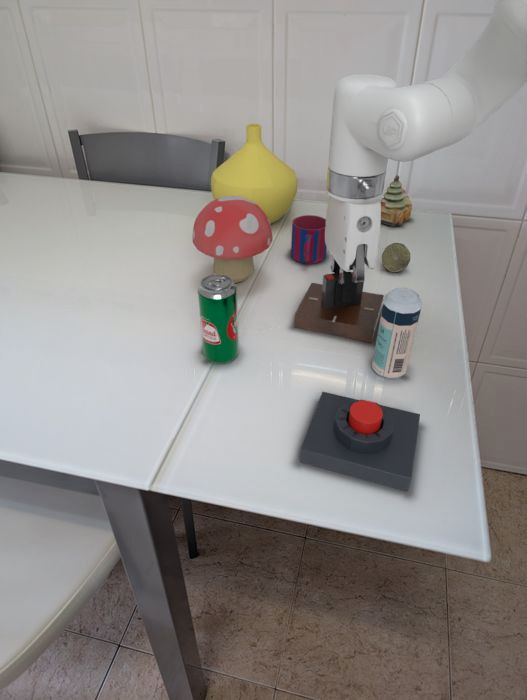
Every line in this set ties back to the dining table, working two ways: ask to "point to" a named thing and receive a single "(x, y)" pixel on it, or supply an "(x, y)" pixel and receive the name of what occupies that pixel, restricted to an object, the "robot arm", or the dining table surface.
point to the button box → (362, 443)
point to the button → (365, 417)
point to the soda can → (218, 318)
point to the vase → (256, 177)
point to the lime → (396, 257)
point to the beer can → (396, 332)
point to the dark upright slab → (329, 291)
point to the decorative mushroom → (232, 235)
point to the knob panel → (339, 315)
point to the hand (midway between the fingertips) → (341, 299)
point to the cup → (308, 239)
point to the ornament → (395, 204)
